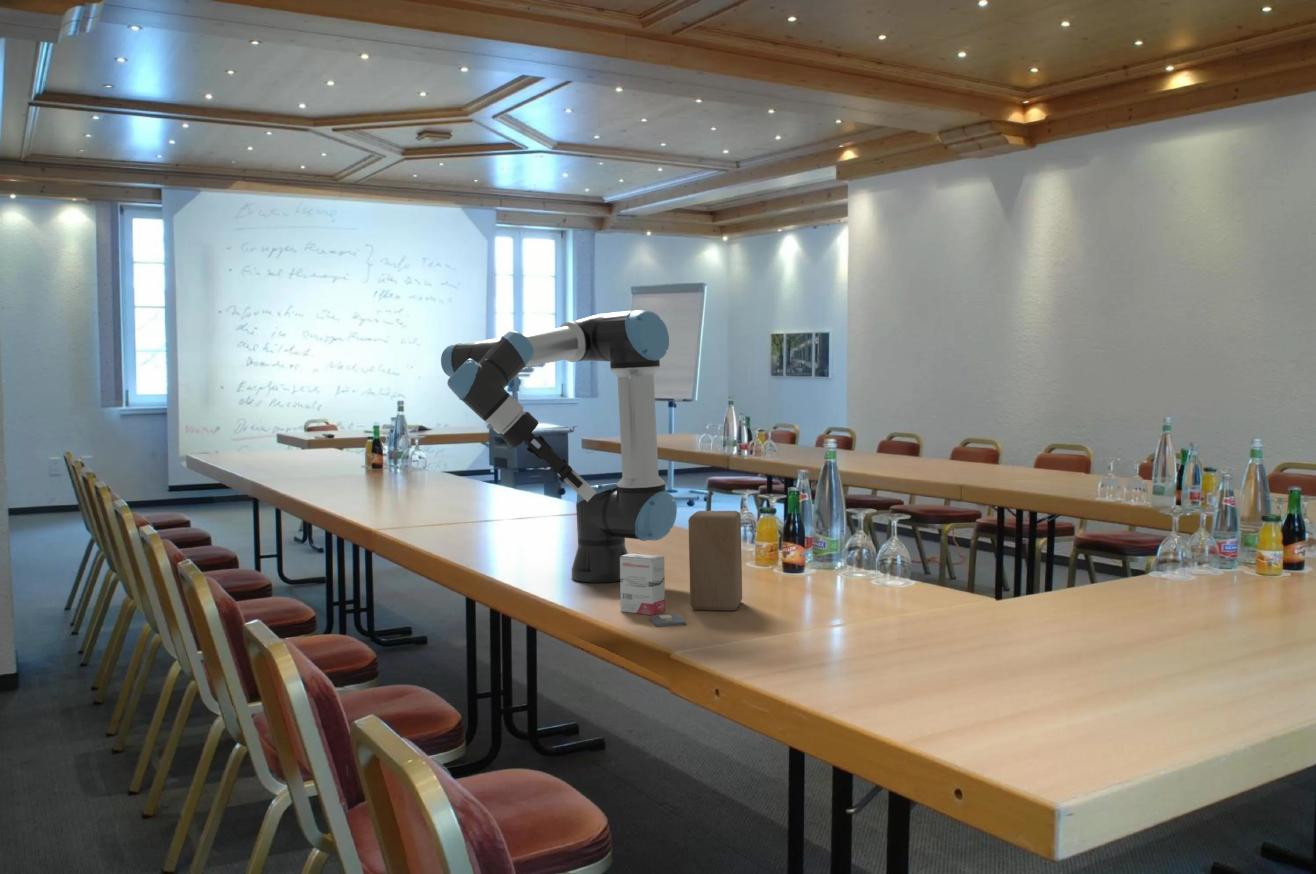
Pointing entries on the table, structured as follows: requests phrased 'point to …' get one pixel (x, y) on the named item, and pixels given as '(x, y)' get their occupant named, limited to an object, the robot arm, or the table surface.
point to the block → (715, 560)
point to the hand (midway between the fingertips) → (587, 493)
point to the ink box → (642, 584)
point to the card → (667, 620)
